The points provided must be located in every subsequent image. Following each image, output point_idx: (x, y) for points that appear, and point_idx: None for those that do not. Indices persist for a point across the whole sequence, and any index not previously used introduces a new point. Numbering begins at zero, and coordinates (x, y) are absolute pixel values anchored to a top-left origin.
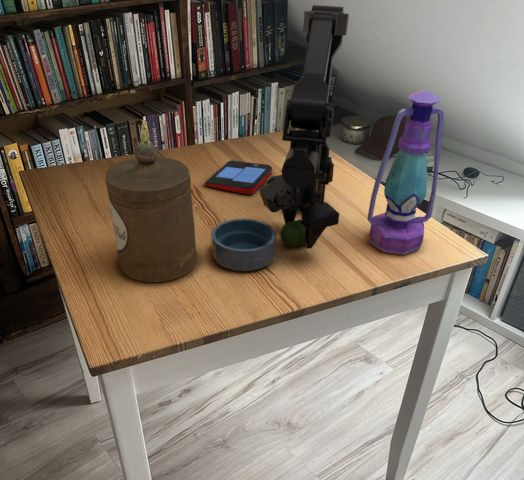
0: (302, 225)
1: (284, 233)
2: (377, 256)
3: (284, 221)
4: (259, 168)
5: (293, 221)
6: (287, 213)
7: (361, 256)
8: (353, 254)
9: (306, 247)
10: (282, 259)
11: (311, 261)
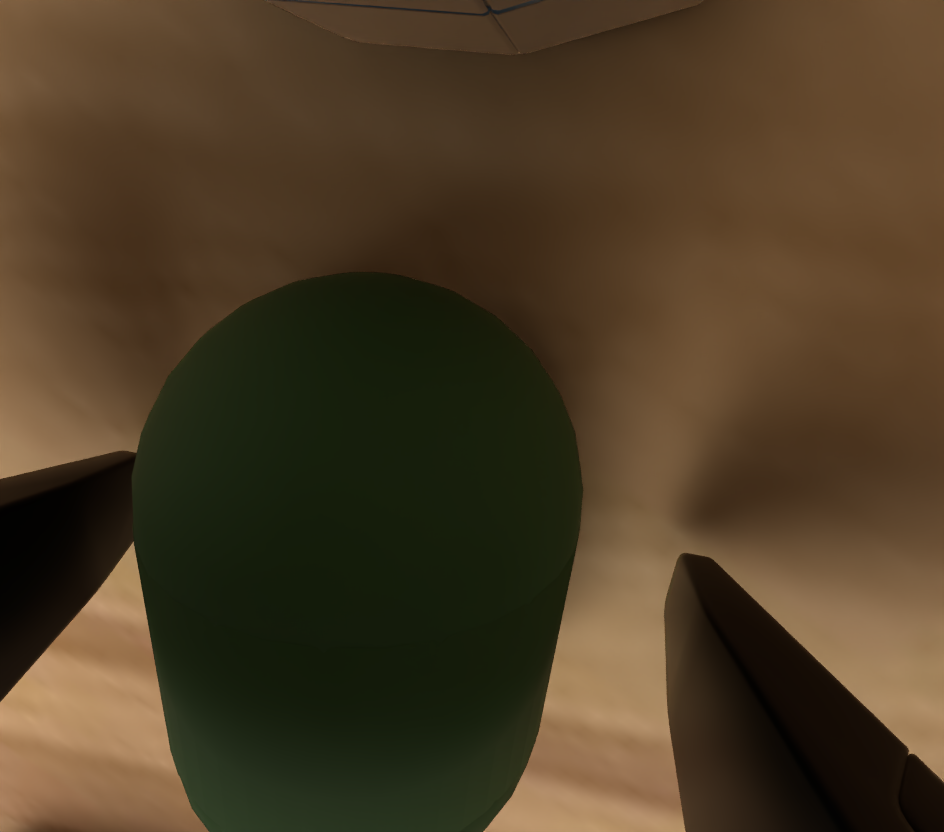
0: (173, 701)
1: (281, 316)
2: (9, 792)
3: (776, 626)
4: None
5: (341, 680)
6: (773, 816)
7: (28, 729)
8: (66, 711)
9: (132, 456)
10: (148, 63)
11: (30, 368)
